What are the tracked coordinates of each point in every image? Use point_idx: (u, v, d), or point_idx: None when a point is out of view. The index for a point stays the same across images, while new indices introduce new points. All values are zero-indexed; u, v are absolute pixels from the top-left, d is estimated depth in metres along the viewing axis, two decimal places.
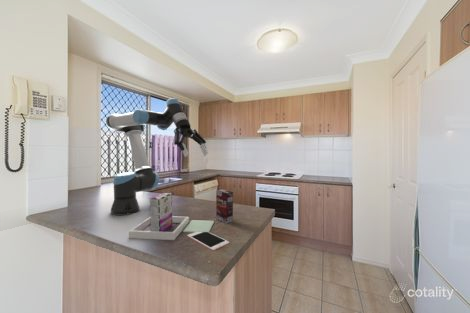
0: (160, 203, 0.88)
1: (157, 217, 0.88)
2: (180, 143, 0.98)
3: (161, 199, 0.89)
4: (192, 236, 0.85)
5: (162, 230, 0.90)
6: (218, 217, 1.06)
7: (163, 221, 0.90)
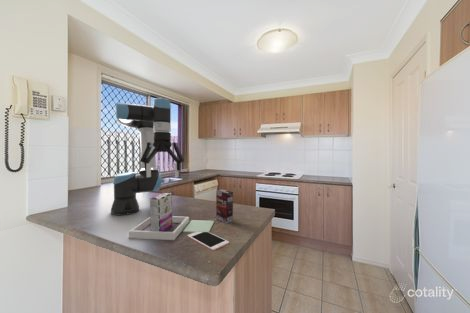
0: (160, 203, 0.88)
1: (157, 217, 0.88)
2: (145, 162, 0.93)
3: (161, 199, 0.89)
4: (192, 236, 0.85)
5: (162, 230, 0.90)
6: (218, 217, 1.06)
7: (163, 221, 0.90)
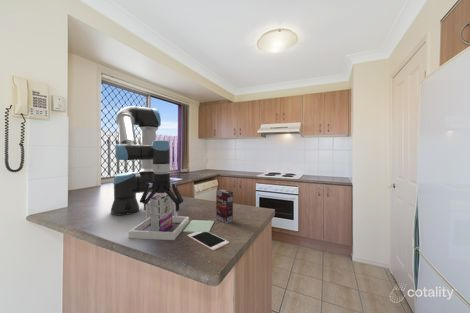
0: (160, 203, 0.88)
1: (157, 217, 0.88)
2: (144, 203, 0.93)
3: (161, 199, 0.89)
4: (192, 236, 0.85)
5: (162, 230, 0.90)
6: (218, 217, 1.06)
7: (163, 221, 0.90)
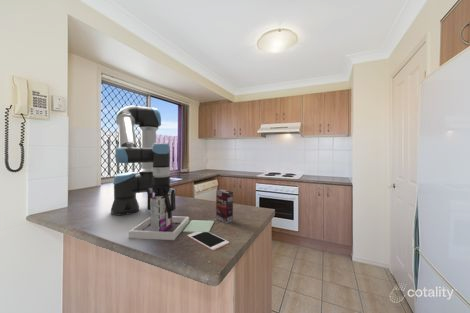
0: (160, 203, 0.88)
1: (157, 217, 0.88)
2: None
3: (161, 199, 0.89)
4: (192, 236, 0.85)
5: (162, 230, 0.90)
6: (218, 217, 1.06)
7: (163, 221, 0.90)
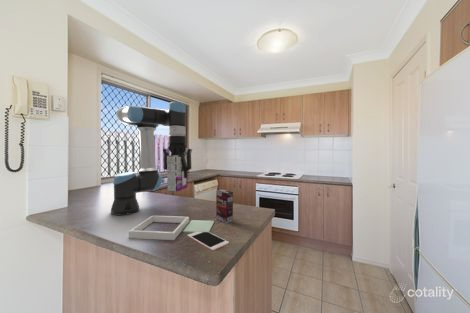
0: (177, 160, 0.89)
1: (174, 174, 0.88)
2: None
3: (178, 157, 0.89)
4: (192, 236, 0.86)
5: (178, 188, 0.90)
6: (218, 217, 1.06)
7: (179, 179, 0.91)
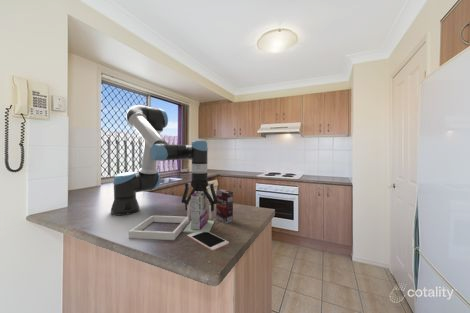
0: (200, 199, 0.92)
1: (197, 214, 0.91)
2: None
3: (201, 196, 0.93)
4: (192, 236, 0.86)
5: (201, 226, 0.94)
6: (218, 217, 1.06)
7: (202, 217, 0.94)
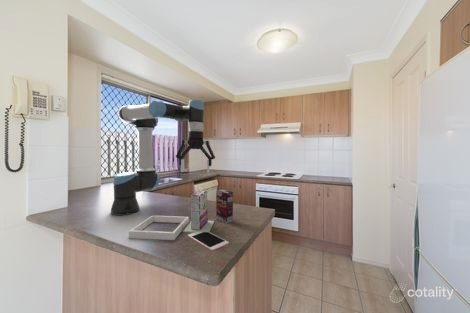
0: (200, 199, 0.92)
1: (197, 214, 0.91)
2: (179, 158, 1.02)
3: (201, 196, 0.93)
4: (192, 236, 0.86)
5: (201, 226, 0.94)
6: (218, 217, 1.06)
7: (202, 217, 0.94)
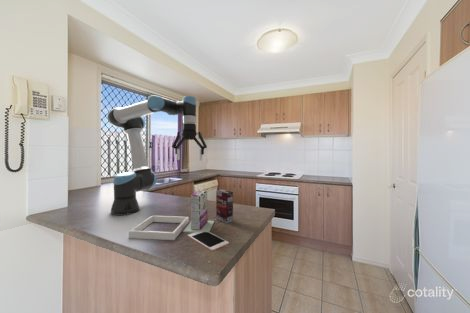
0: (200, 199, 0.92)
1: (197, 214, 0.91)
2: None
3: (201, 196, 0.93)
4: (192, 236, 0.86)
5: (201, 226, 0.94)
6: (218, 217, 1.06)
7: (202, 217, 0.94)
